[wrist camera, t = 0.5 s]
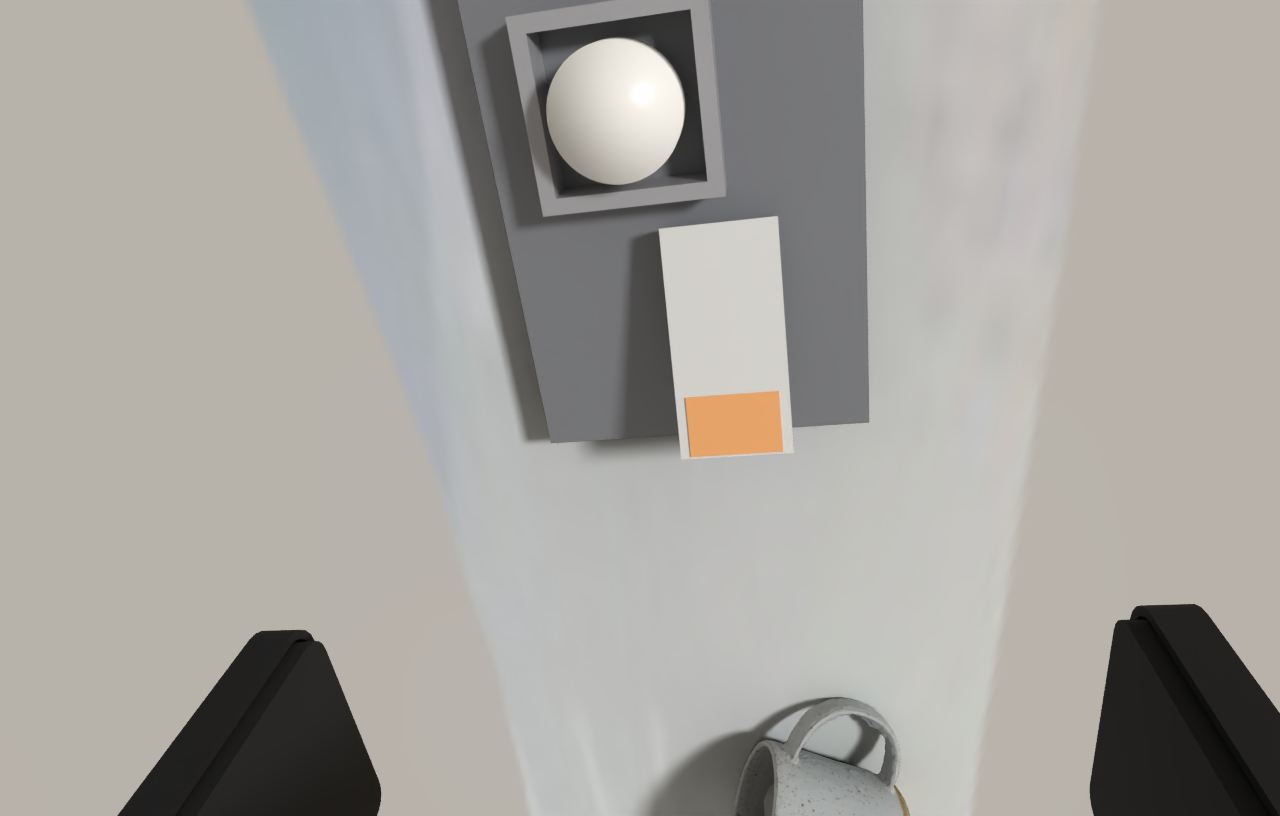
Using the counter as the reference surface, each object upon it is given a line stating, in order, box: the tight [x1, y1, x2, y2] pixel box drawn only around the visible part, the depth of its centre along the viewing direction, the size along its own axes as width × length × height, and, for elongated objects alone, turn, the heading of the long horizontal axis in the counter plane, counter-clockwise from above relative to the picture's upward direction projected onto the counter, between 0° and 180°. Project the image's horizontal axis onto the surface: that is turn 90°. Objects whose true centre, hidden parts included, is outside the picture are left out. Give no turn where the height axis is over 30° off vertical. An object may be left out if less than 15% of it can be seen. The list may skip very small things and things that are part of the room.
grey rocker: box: [659, 216, 794, 460], centre depth 32 cm, size 9×4×1 cm, turn 8°
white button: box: [546, 37, 686, 185], centre depth 28 cm, size 5×5×2 cm
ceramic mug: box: [732, 698, 910, 816], centre depth 44 cm, size 11×8×8 cm
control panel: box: [457, 0, 869, 443], centre depth 30 cm, size 28×14×4 cm, turn 8°
